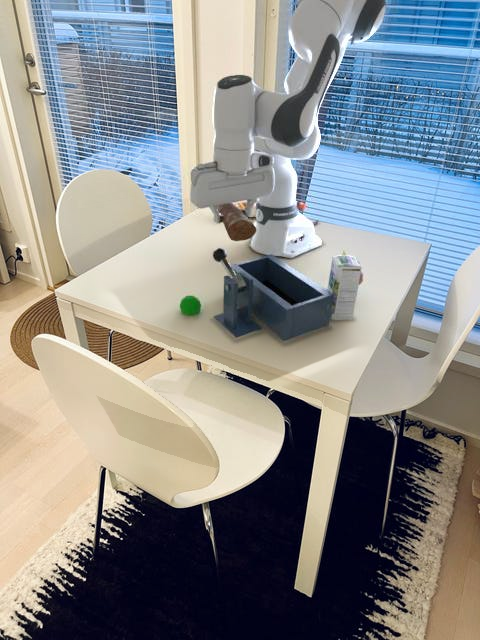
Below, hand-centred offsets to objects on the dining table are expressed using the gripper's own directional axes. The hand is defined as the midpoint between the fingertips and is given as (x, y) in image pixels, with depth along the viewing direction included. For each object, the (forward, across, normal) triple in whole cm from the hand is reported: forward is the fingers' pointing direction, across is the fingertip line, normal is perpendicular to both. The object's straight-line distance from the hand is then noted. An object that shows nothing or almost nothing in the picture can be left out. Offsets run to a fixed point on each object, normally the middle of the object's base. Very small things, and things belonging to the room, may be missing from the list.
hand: (232, 219), depth 117 cm
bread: (+2, -1, 0) cm, 2 cm away
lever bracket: (+21, -6, -12) cm, 25 cm away
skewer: (+21, +37, +44) cm, 62 cm away
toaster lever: (+10, -6, -7) cm, 13 cm away
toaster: (+21, +6, -11) cm, 25 cm away
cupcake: (+21, +27, -12) cm, 37 cm away
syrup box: (+21, +18, -20) cm, 34 cm away
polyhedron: (+21, -13, -2) cm, 25 cm away
